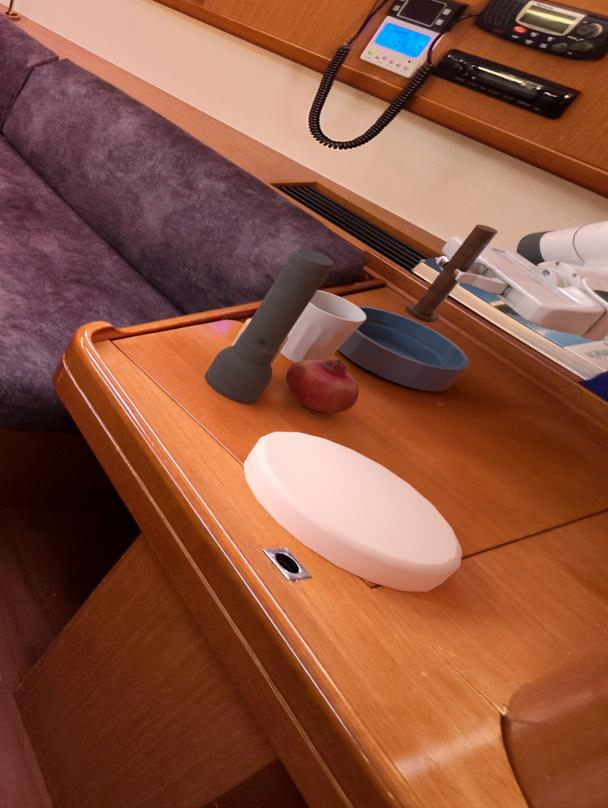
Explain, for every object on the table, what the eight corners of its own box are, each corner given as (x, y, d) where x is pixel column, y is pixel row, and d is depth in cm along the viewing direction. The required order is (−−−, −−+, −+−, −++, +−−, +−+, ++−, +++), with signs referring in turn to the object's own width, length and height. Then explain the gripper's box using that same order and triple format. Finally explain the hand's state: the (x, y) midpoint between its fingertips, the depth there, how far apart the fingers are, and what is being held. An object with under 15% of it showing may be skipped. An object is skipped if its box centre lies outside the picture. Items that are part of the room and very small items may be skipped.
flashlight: (194, 372, 108) (233, 405, 102) (270, 243, 96) (320, 273, 90) (229, 368, 109) (269, 402, 103) (309, 241, 97) (360, 270, 91)
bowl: (435, 356, 113) (455, 332, 111) (458, 410, 103) (481, 384, 100) (321, 317, 122) (337, 294, 119) (331, 363, 111) (349, 338, 108)
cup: (288, 367, 110) (323, 316, 105) (260, 335, 117) (291, 286, 112) (341, 376, 108) (379, 325, 103) (309, 343, 115) (343, 294, 110)
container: (211, 438, 96) (224, 418, 94) (356, 459, 94) (373, 439, 92) (312, 576, 79) (331, 554, 77) (495, 607, 76) (519, 586, 74)
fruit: (355, 430, 98) (390, 386, 94) (294, 418, 100) (326, 374, 96) (321, 390, 105) (352, 348, 101) (264, 379, 107) (293, 337, 103)
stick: (432, 314, 107) (500, 227, 99) (438, 326, 105) (508, 238, 97) (402, 305, 109) (466, 219, 101) (407, 316, 107) (473, 229, 99)
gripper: (524, 238, 106) (417, 219, 110) (640, 317, 89) (508, 291, 93) (500, 267, 109) (397, 248, 113) (609, 349, 91) (482, 323, 96)
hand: (448, 268), depth 103 cm, fingers closed on stick, 2 cm apart
